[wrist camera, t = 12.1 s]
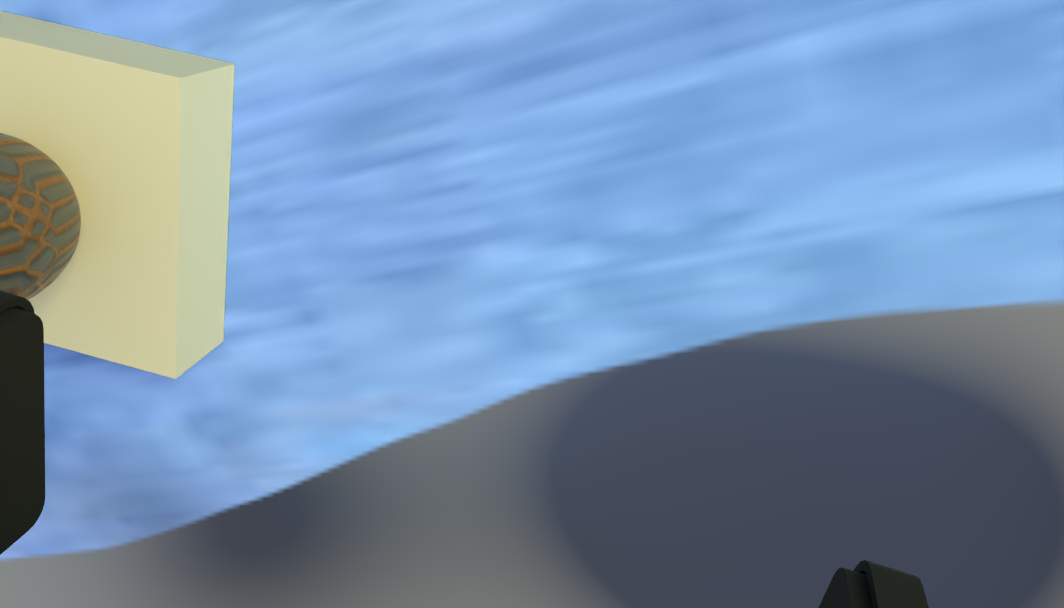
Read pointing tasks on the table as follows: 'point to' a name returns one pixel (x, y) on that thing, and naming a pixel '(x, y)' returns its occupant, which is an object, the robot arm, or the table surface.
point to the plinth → (128, 187)
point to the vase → (34, 218)
